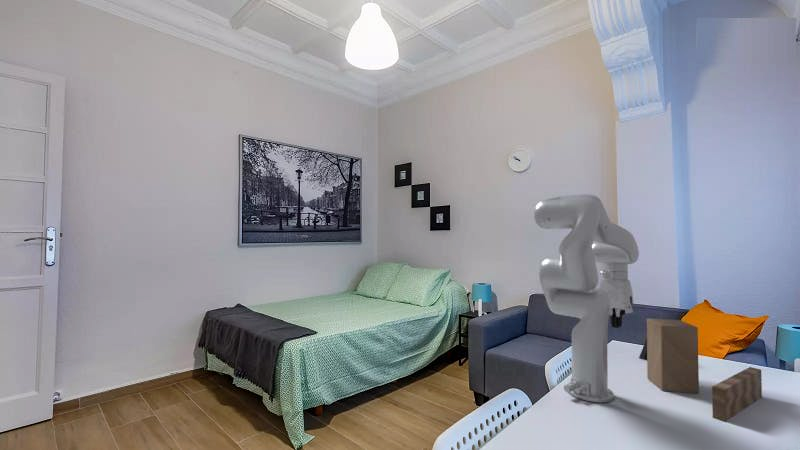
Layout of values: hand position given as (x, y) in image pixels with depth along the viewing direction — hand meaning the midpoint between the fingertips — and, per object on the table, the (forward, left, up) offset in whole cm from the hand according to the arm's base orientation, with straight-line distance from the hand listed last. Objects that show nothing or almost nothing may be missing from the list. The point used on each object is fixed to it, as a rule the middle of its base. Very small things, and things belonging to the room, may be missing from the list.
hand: (616, 326), depth 130 cm
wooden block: (-1, -17, -15) cm, 23 cm away
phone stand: (+21, -3, -15) cm, 26 cm away
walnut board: (-1, -33, -15) cm, 36 cm away
